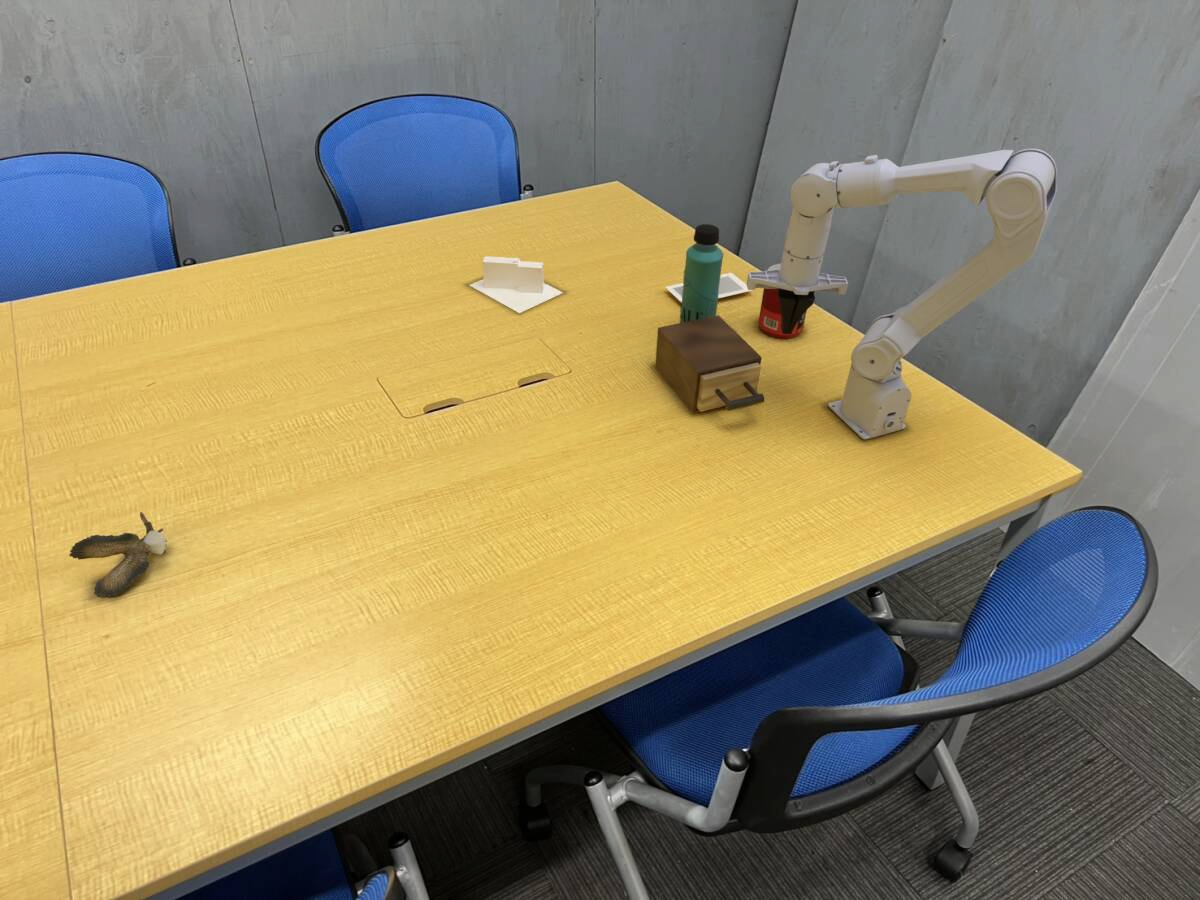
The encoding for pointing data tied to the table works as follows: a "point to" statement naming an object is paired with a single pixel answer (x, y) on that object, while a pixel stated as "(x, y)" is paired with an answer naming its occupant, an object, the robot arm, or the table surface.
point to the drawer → (730, 388)
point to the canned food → (775, 313)
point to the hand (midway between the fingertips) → (786, 330)
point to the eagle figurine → (132, 556)
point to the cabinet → (699, 354)
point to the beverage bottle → (701, 275)
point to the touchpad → (726, 287)
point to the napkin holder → (515, 282)
